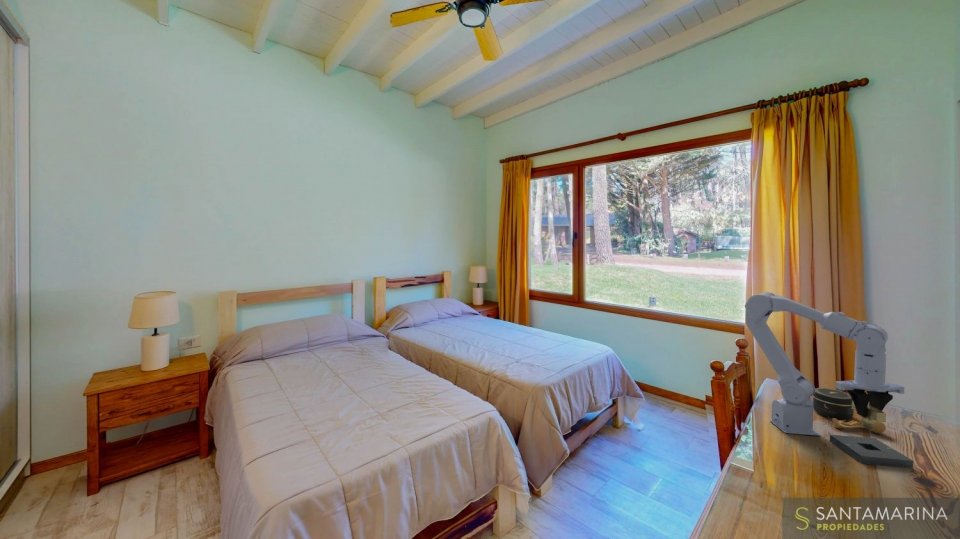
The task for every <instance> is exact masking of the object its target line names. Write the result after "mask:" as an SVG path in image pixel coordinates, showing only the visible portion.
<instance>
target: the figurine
mask: <svg viewBox="0 0 960 539" xmlns="http://www.w3.org/2000/svg"><path fill="white" fill-rule="evenodd" d="M831 420H832V422H833V426H834V428H836V429H854V428H855V429H856V428H864V427H862V426H861V422H860V421H856V420H854V419H853V420H851V421H850V420H849V421H847V422H846V420H842V421H841V420H837V419H834V418H833V419H831ZM868 430H869V431H870V432H872V433H876V434H883V433H884V432H885V431H886V430H887V428H886V424H884V422H876V421H875V420H874V429H868Z"/></svg>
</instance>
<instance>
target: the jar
mask: <svg viewBox="0 0 960 539" xmlns="http://www.w3.org/2000/svg"><path fill="white" fill-rule="evenodd" d="M812 397H813V398H812V401H813V403H814V406H813V411H814V412H815V413H816V412H817V413H816V414H818V415H820V416H822V417H825V418H827V419H831V420H832V419H833V418H834V419H837V420H838V421H842V420H846V421H847V422H849V421H850V420H851V419H853V417H854V414H855V410H854V409H852V398H851V396H850V395H849V393H848V392H845V391H843V390H839V389H834V388H827V387H817V388H815V393H814V394H813V395H812ZM846 421H845V422H846Z"/></svg>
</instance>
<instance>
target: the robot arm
mask: <svg viewBox="0 0 960 539" xmlns="http://www.w3.org/2000/svg"><path fill="white" fill-rule="evenodd" d="M744 308H745V324H746V326H747V328H748V330H749V331H750V333H751V335H752V336H753V338H754V340H756V342H757V344H758V345H759V348H760V349H761V350H762V352H763V353H764V355H765V356H766V358H767V360H768V361H769V364H770V365H771V366H772V368H773V370H774V371H775V373H776V376H777V382H778V384H779V386H780V389H781V390H780V392H781V395H782V397H781V398H780V399H773V401H772V403H771V419H770V420H769V421H770V423H772V424H773V425H774V426H775V427H777V428H778V429H780V430H781V431H782V432H784V433H785V434H793V435H794V434H795V435H807V436H817V437H818V436H819V437H820V436H821V433H820V432H818V431H817V430H816V429H814V407H813V406H814V403H813V399H812V398H811V397H813V394H814V393H815V389H816V388H815V385H814V384H813V382H812V381H811V380H809V379H808V378H806V377H805V376H804V374H803V373H802V372H801V371H800V370H799V369H797V368H796V367H795V365H794V364H793V362H792V360H791V359H790V357H789V355H788V354H787V353H786V352H785V351H786V350H784V348H783V347H782V345H781V343H780V342H779V341H778V339H777V337H776V336H775V335H774V333H773V331H772V330H771V328H770V326H769V325H768V323H767V322H768V320H769V318H770V315H771V314H773V313H777V312H789V313H790V314H793V315H797V316H800V317H802V318H804V319H808V320H811V321H813V322H816V323H818V324H819V325H820V326H821V329H823V330H824V331H828V332H831V333H833V334H835V335H838V336H840V337H843V338H846V339H848V340H854V342H855V343H856V349H855V351H854V352H855V353H854V354H855V355H854V356H855V358H854V376H853V378H854V380H853V379H852V380H840V381H839V380H837V381H835V389H836V390H839V391H845V390H846V393H848V394H849V395H850V396H851V398H852V400H853V402H854V405H855V408H856V410H855V411H856V414H857V415H859V416H860V417H861V418H862V417H866V416H867V408H868V405H870V406H872V407H874V408H876V409H878V410H880V411H883V410H884V409H885V407H886V406H887V405H888V404H889V403H890V402H891V401H892V400H893V399H894V395H893V394H890V393H897V394H900V395H904V394H905V386H903V385H900V384H899V383H896V384H895V383H886V368H887V354H886V351H887V347H886V343H887V341H888V339H889V335H888V332H887V330H885V329H884V328H882V327H881V326H879V325H877V324H874V323H873V324H872V323H871V324H870V323H868V322H867V321H866V320H862V321H859V320H857V319H854V318H852V317H849V316H847V315H845V312H841V311H839V312H836V311H829V312H823V311H820V310H818V309H816V308H813V307H810V306H808V305H806V304H803V303H800V302H798V301H795V300H793V299H791V298H787V297H786V296H783V295H779V294H775V293H772V292H769V291H768V292H761V293H759V294H757V293H756V294H753V295H751V296H750V297H749V298H748V299H747V301H746V303H745V304H744Z"/></svg>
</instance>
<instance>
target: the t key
mask: <svg viewBox="0 0 960 539" xmlns="http://www.w3.org/2000/svg"><path fill="white" fill-rule="evenodd" d="M852 409H854V411H856V408H855V405H854V402H853V400H852ZM874 420H875V421H876V422H882V423H887V422H886V421H887V413H886V412H885V411H883V410H882V411H880V410H878V409H876V408H874V407H872V406H870V405H869V404H868V408H867V416H866V417H862V416H861V422H860V423H861V426H862V427H861V428H863V427H864V428H865V429H867V430H869V429H874Z"/></svg>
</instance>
